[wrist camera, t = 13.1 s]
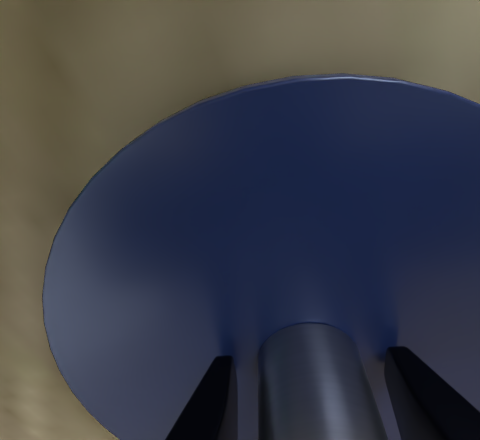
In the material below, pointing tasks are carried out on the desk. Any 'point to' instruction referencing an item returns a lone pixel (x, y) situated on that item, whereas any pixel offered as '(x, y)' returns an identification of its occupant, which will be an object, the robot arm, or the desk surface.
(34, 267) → the desk surface
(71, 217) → the lid
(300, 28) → the desk surface
